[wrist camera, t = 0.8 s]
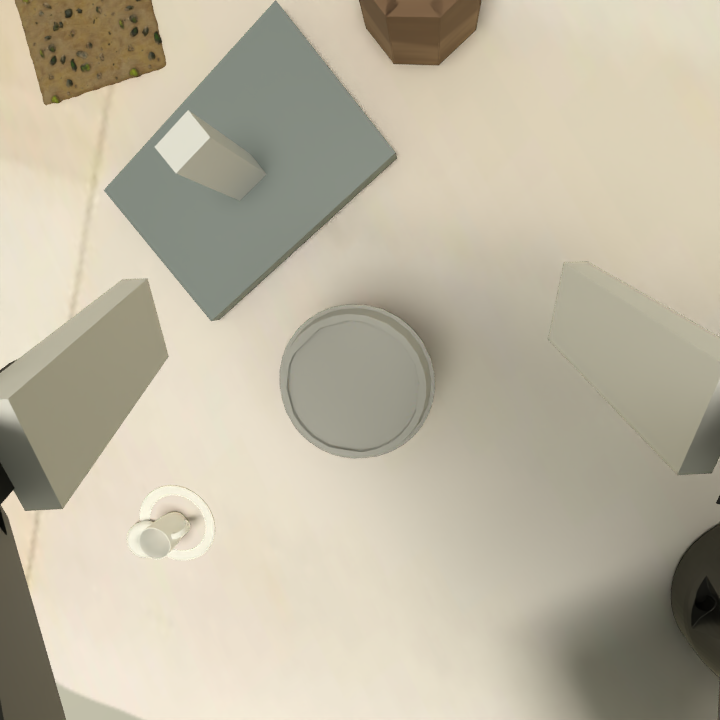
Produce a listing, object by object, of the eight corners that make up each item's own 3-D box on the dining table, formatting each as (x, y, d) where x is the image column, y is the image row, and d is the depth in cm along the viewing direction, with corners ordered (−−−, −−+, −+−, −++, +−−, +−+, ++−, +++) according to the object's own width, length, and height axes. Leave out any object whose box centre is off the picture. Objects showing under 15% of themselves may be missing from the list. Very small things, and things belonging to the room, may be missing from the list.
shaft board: (396, 158, 34) (382, 104, 24) (219, 319, 39) (143, 332, 28) (282, 12, 33) (217, -107, 23) (116, 193, 38) (1, 161, 28)
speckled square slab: (4, -44, 36) (-8, -52, 35) (132, -96, 34) (123, -107, 33) (47, 110, 38) (37, 105, 37) (171, 69, 36) (164, 64, 35)
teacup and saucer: (138, 552, 45) (110, 578, 41) (132, 479, 43) (102, 499, 40) (219, 561, 44) (198, 589, 40) (215, 486, 42) (192, 507, 38)
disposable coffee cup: (418, 284, 35) (411, 285, 24) (445, 396, 37) (452, 449, 25) (308, 313, 37) (252, 328, 26) (337, 419, 38) (297, 478, 27)
